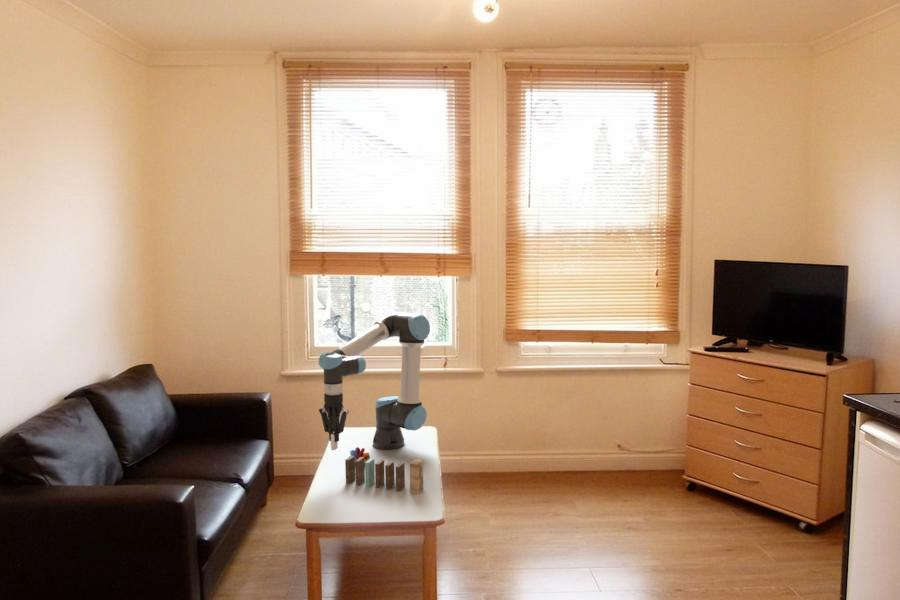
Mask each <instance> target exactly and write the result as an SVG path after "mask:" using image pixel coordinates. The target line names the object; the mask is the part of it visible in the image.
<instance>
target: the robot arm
mask: <svg viewBox="0 0 900 600" xmlns="http://www.w3.org/2000/svg"><path fill="white" fill-rule="evenodd" d="M430 331H431V325H430V322H429V320H428V318H427V317H426V316H425V315H422V314H419V313H416V312H415V313H412V312H402V311H399V312H393V313H389V314H387V315H386V316H384V317H381V318H380V319H378V320H377V321H375V322H374V323H373V326H371V327H369V328H368V329H366V330H365V331H363V332H362V333H360V334H358V335H357V336H355V337H354V338H351V340H349V341H347V342H346V343H344V344H342V345H341V346H339V347H338V348H336V349H335V350H333V351H331V352H329V351H328V352H322V353H321V354H320V356H319V357H318V365H319V367H320V368H321V369H322V370H323V393H324V394H323V400H324V401H323V402H324V405H323V407H321V408H319V409H318V412H319V414H320V415H321V420H322V421H321V422H322V424H323V425H322V426H323V428H324V430H323V431H324V432H325V433H328V439H329V442H330V450H331V451H336V450H337V449H338V448H339V447H338V442H339V441H340V434H342V433H343V432H344V430H345V425H346V420H347V416H348V414H349V413H350V412H349V409H345V408H344V405H343V402H344V401H343V399H344V395H343V391H344V389H343V388H344V387H343V378H344V377H349V376H354V375H359V374H361V373H364V372H365V371H366V367H367V363H366V359H365V358H364V357H363V356H361V355H360V354H362V353H364V352H365V351H367V350H369V349H371V347H373V346H375V345H377V344H378V343H379V342H381V341H385V340H388V339H389V338H393V337H394V338H395V337H399V339H398V343H400V345H401V346H402V349H401V369H400V370H401V375H400V396H397V395H394V396H393V395H392V396H384V397H380V398H378V399H377V400H376V401H375V427H376V428H375V431H374V436H373V439H372V445H373V446H372V447H374V448H376V449H379V450H396V449H399V448H401V447H403V446H404V445H405V438H404V434H403V432H402V429H404V430H407V431H418V430H420V429H421V428H422V427H423V425H424V424H425V422H426V419H427V416H428V415H427V413H428V412H427V410H426V408H425V407H424V406H423V401H422V399H421V398H420V376H421V375H420V374H421V367H420V366H421V354H422V353H421V348H422V346H423V345H424V344H425V340H426V339H427V338H428V337H429V335H430Z"/></svg>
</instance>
